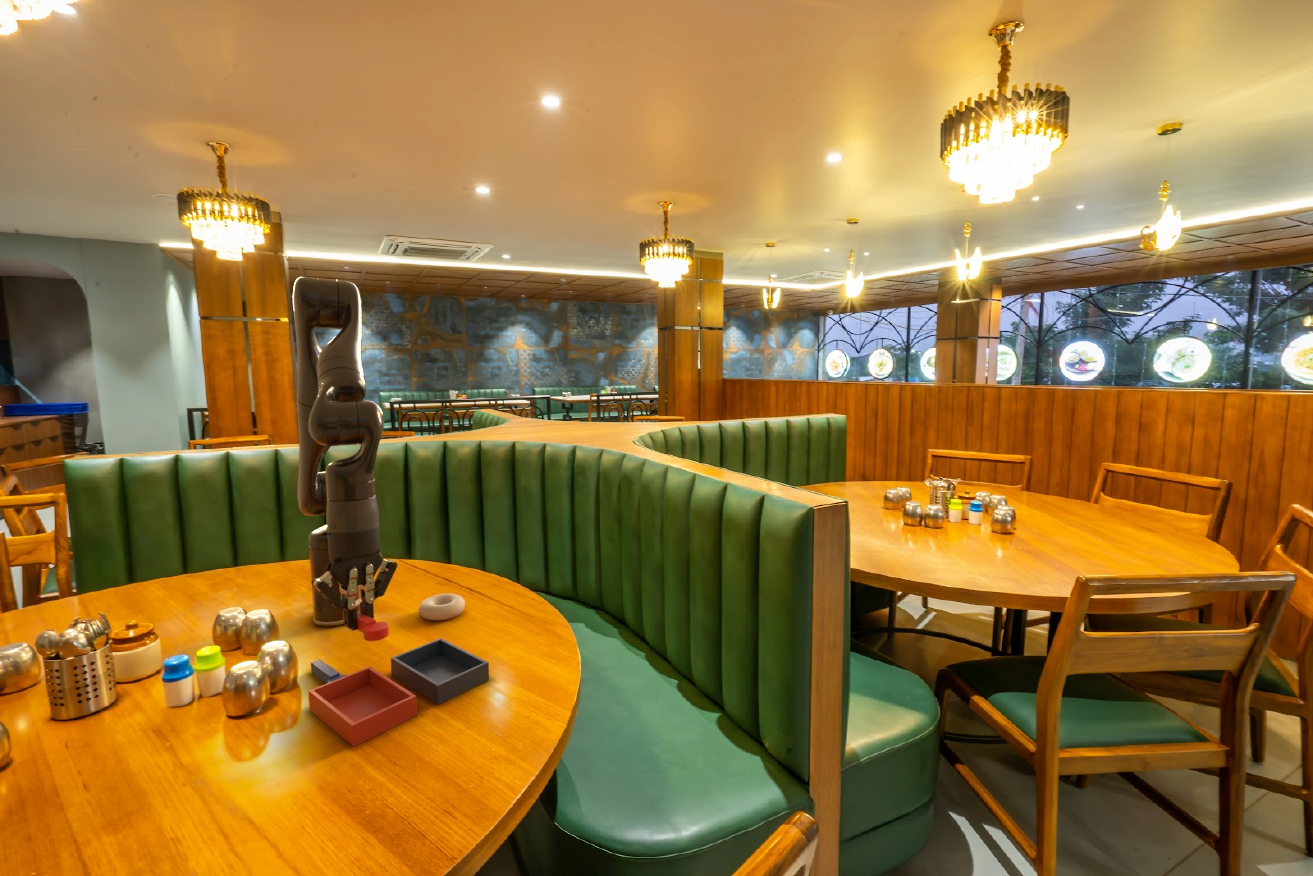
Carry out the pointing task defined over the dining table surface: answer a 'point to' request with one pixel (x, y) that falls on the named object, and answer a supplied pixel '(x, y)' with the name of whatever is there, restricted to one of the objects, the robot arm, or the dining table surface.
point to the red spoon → (371, 627)
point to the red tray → (362, 705)
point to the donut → (442, 607)
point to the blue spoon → (324, 671)
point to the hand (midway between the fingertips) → (359, 626)
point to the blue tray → (440, 670)
